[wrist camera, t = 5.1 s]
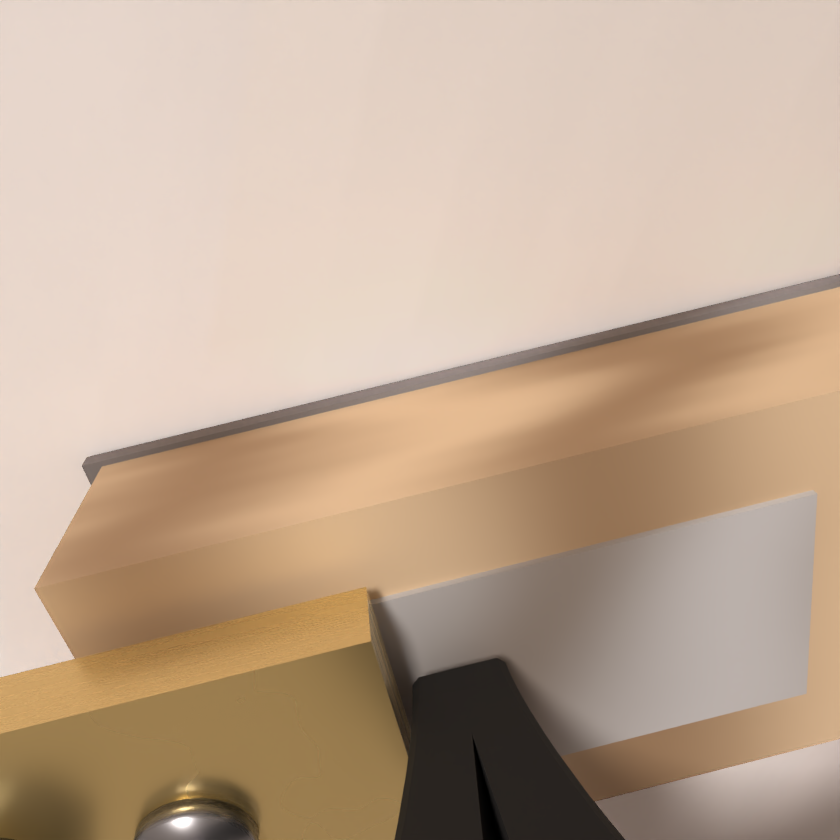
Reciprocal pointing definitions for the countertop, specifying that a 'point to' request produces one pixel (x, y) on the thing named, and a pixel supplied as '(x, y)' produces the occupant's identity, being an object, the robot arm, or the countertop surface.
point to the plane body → (527, 532)
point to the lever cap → (212, 734)
